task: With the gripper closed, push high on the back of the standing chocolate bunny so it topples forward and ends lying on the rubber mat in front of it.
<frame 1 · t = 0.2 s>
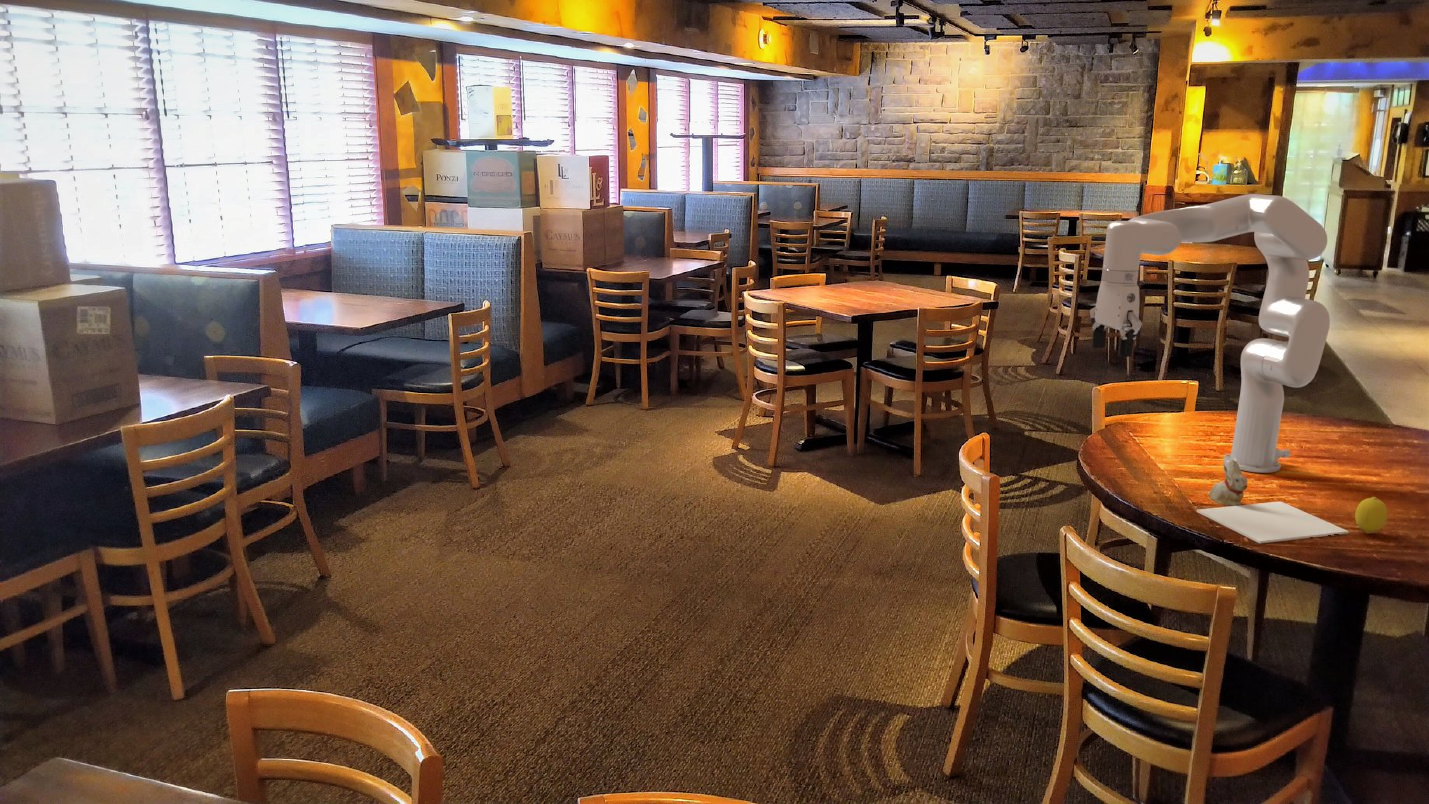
hand: (1111, 352, 235), 31 cm above the table, tool pointing down, fingers open, 9 cm apart
lemon: (1367, 534, 212), on the table
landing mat: (1270, 522, 217), on the table
chocolate bunny: (1225, 502, 230), on the table
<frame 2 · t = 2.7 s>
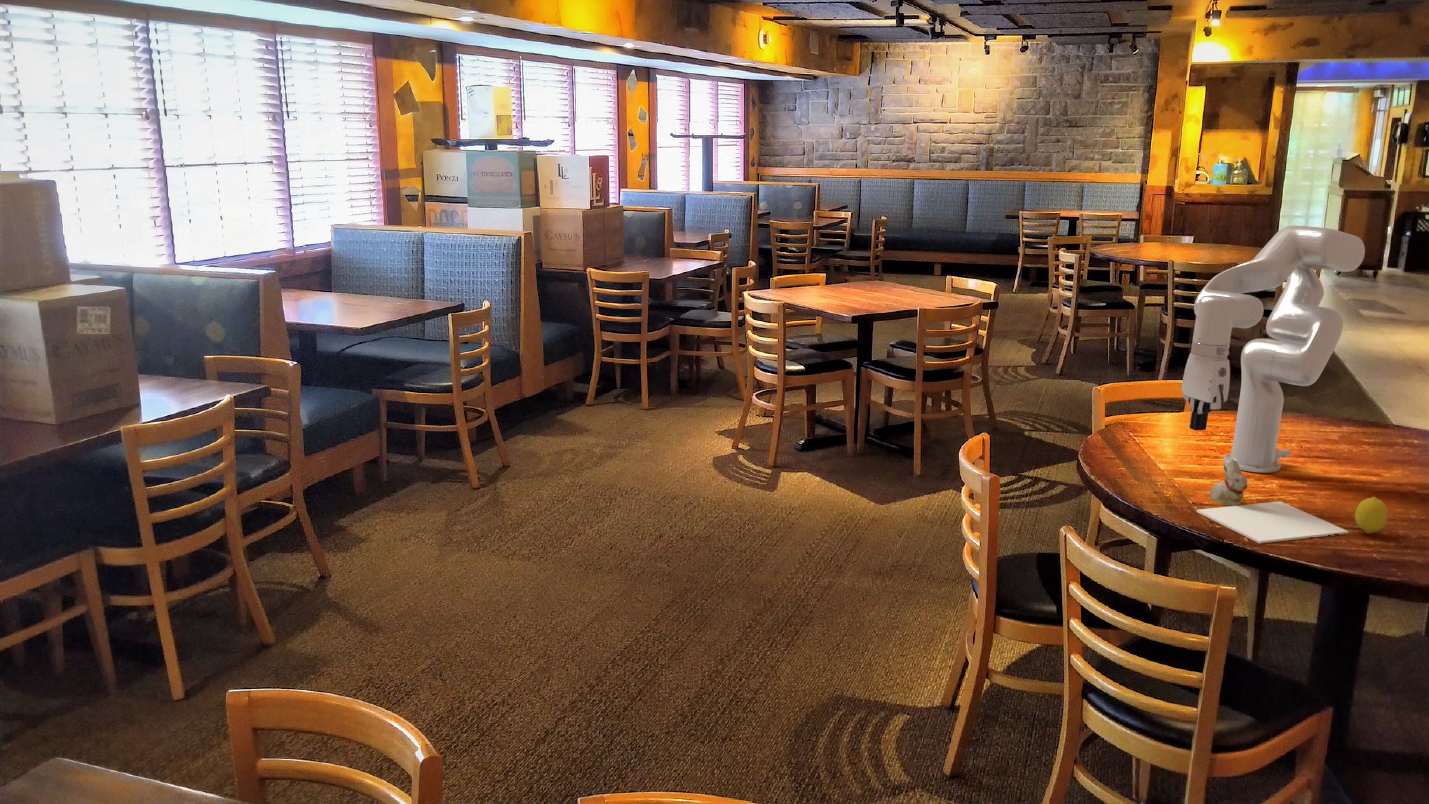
hand: (1197, 429, 236), 14 cm above the table, tool pointing down, fingers closed
nothing on the table moved.
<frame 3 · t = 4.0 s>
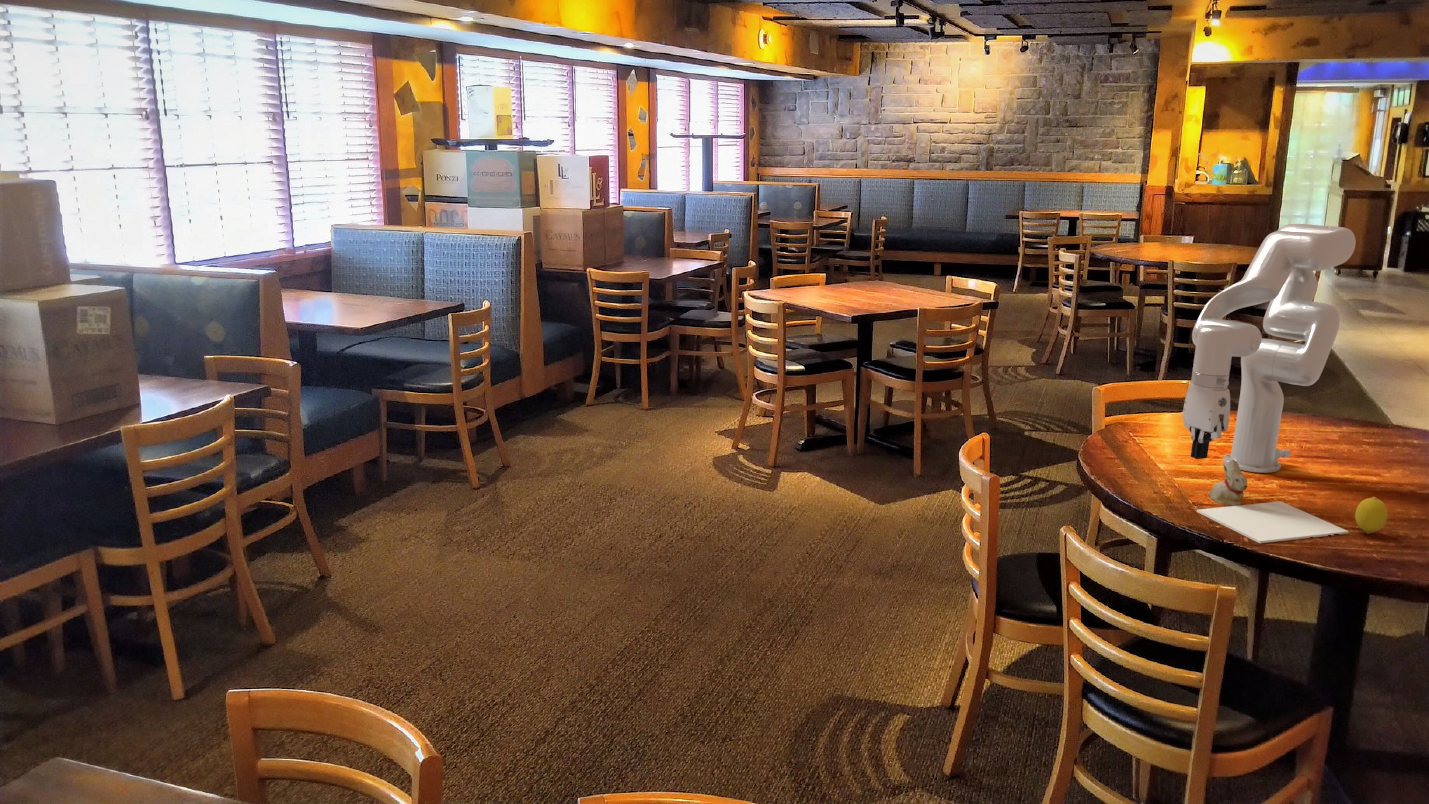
hand: (1198, 457, 237), 7 cm above the table, tool pointing down, fingers closed
nothing on the table moved.
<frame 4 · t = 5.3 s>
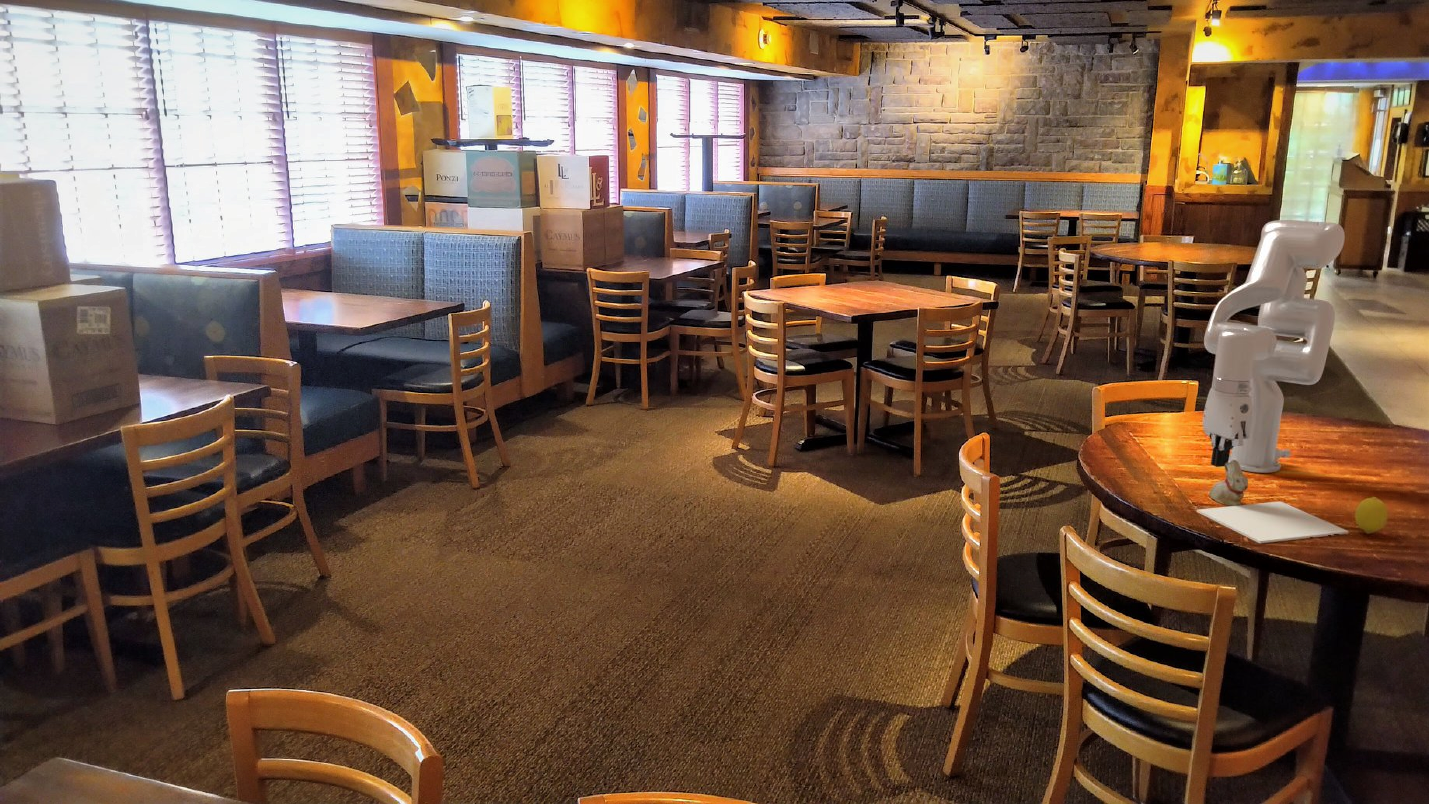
hand: (1219, 465, 230), 7 cm above the table, tool pointing down, fingers closed
chocolate bunny: (1225, 501, 230), on the table, touching gripper
everything else where it was.
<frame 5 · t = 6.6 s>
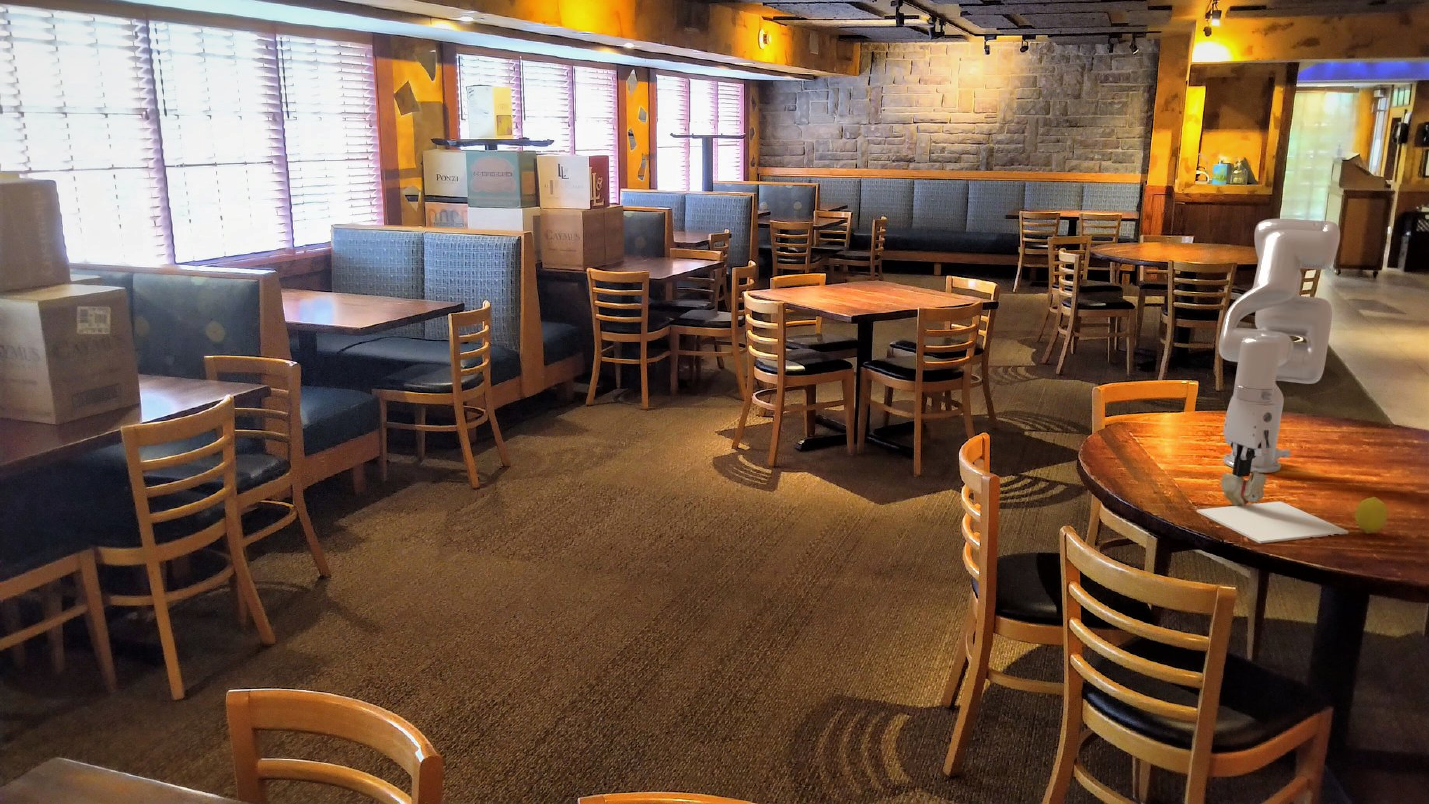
hand: (1240, 475, 225), 7 cm above the table, tool pointing down, fingers closed
chocolate bunny: (1231, 492, 228), point 2 cm above the table, touching gripper
everything else where it was.
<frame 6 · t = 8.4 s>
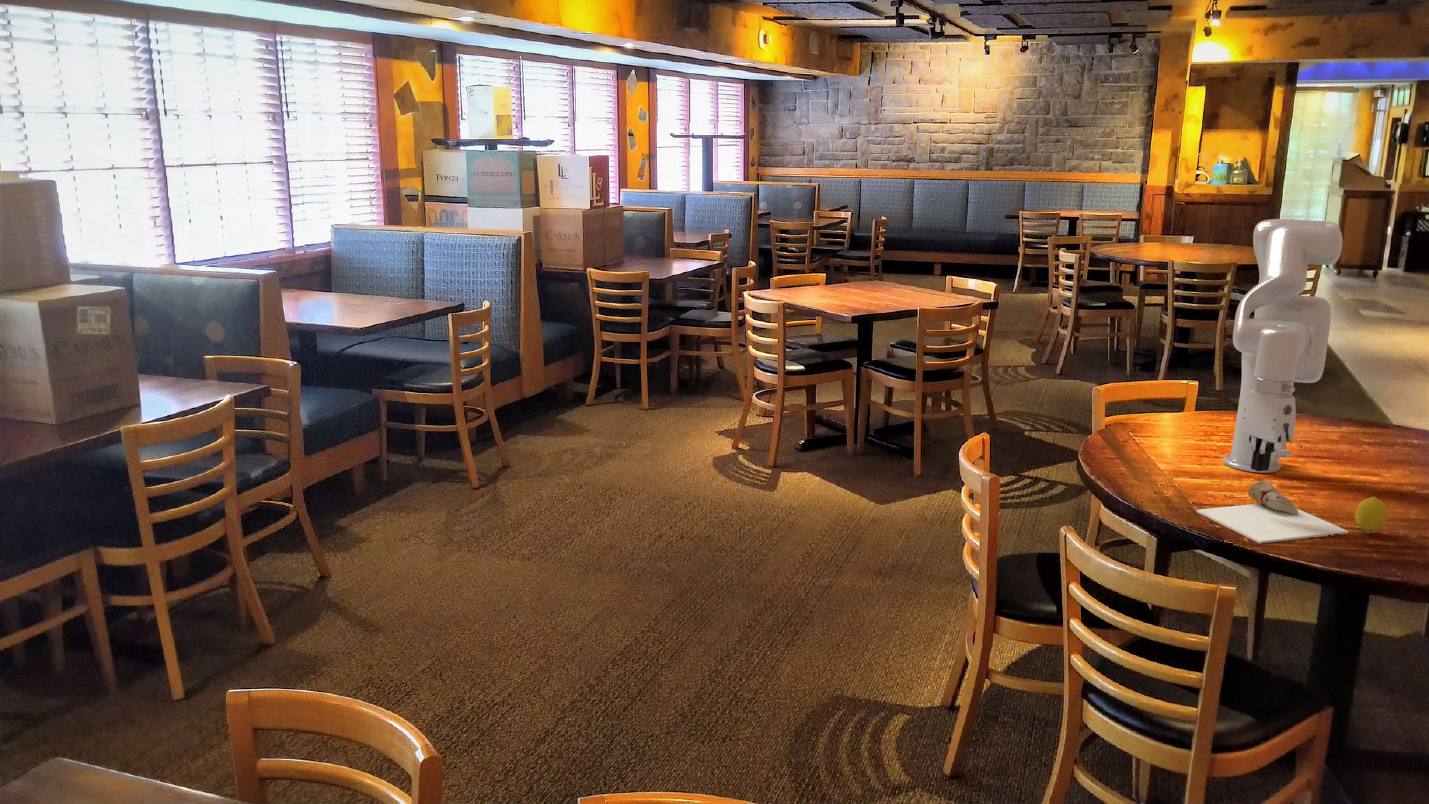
hand: (1259, 469, 219), 10 cm above the table, tool pointing down, fingers closed
chocolate bunny: (1256, 489, 228), point 3 cm above the table, touching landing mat
everything else where it was.
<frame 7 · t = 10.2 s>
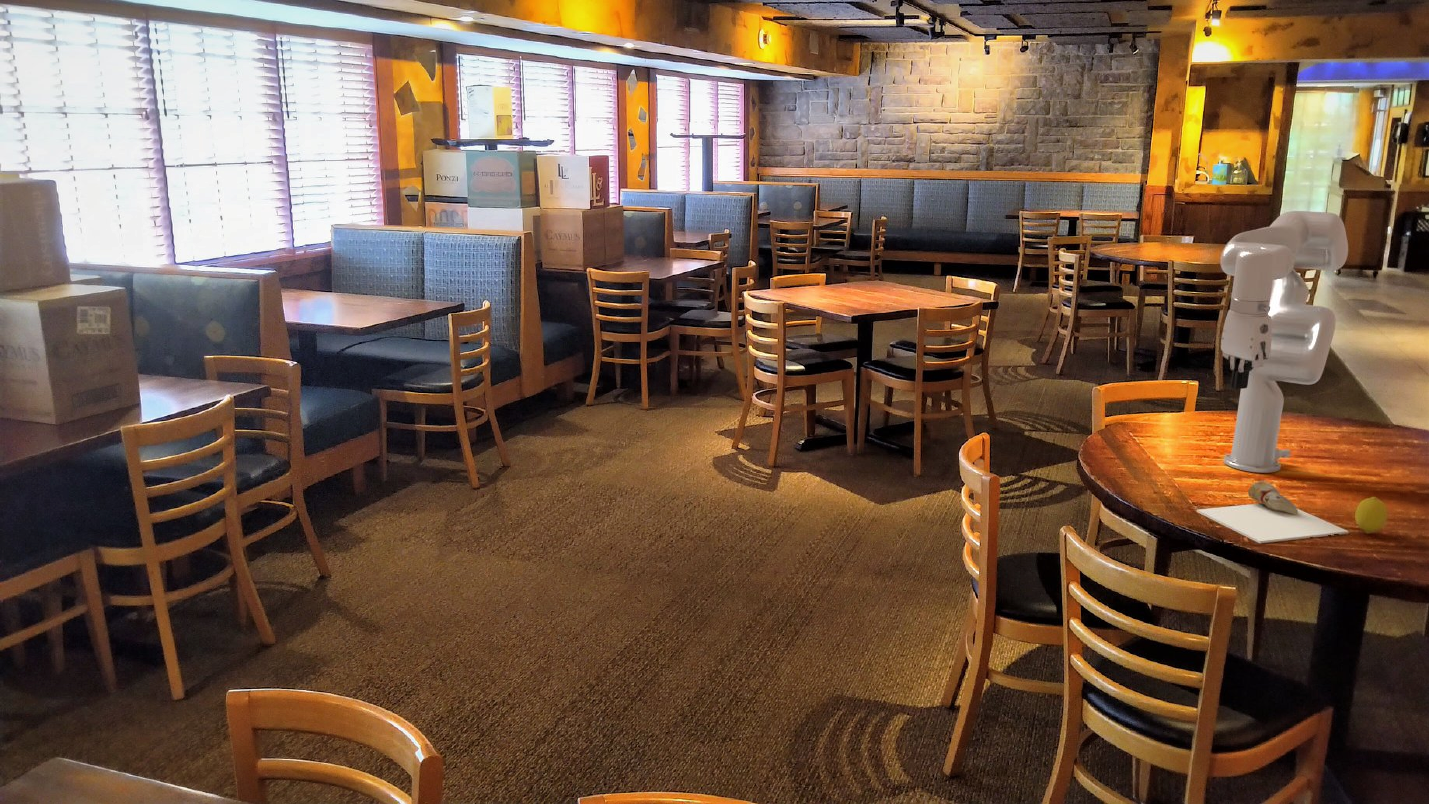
hand: (1238, 387, 229), 25 cm above the table, tool pointing down, fingers closed
nothing on the table moved.
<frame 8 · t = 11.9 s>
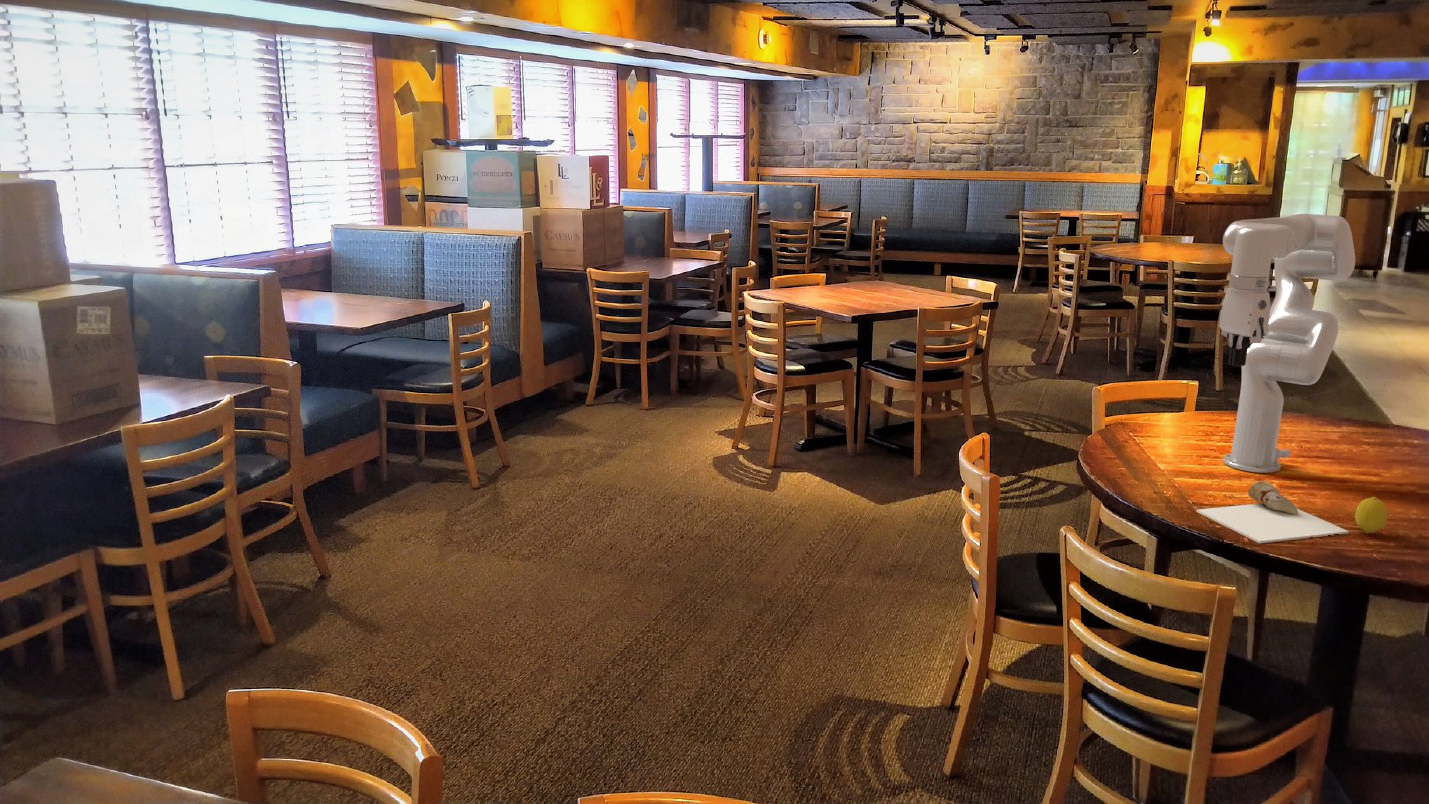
hand: (1236, 365, 231), 29 cm above the table, tool pointing down, fingers closed
nothing on the table moved.
at the end: chocolate bunny tilted 100°; chocolate bunny touching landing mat; chocolate bunny moved 6.9 cm from its start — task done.
